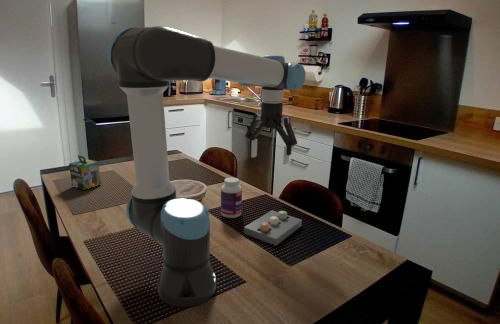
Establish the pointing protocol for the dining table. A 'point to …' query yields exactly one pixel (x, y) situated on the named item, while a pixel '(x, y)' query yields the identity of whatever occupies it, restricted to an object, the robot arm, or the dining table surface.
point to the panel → (273, 228)
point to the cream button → (274, 221)
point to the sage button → (282, 215)
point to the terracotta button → (264, 227)
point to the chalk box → (85, 173)
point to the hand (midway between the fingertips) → (269, 160)
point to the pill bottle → (231, 198)
